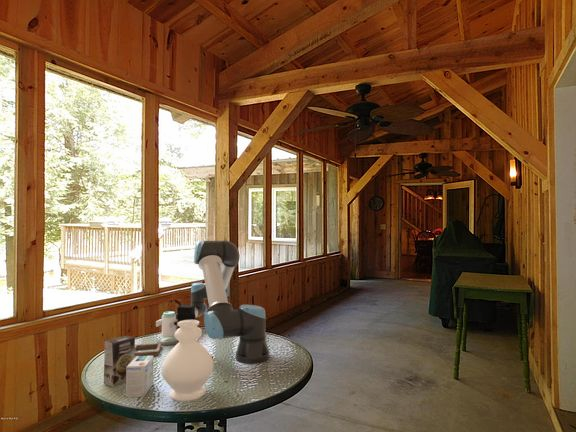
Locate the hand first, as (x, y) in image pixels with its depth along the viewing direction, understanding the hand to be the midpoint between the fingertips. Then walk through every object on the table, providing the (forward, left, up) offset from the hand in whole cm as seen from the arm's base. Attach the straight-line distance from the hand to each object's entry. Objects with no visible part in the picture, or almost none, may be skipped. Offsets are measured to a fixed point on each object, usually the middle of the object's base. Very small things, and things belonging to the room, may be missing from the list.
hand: (162, 324), depth 185 cm
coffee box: (-42, +12, -10) cm, 45 cm away
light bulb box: (-52, +3, -10) cm, 53 cm away
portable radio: (-18, -12, -10) cm, 24 cm away
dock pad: (+4, -2, -10) cm, 11 cm away
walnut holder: (-10, +7, -10) cm, 15 cm away
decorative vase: (-58, -14, -10) cm, 60 cm away
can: (+4, -2, -7) cm, 9 cm away
